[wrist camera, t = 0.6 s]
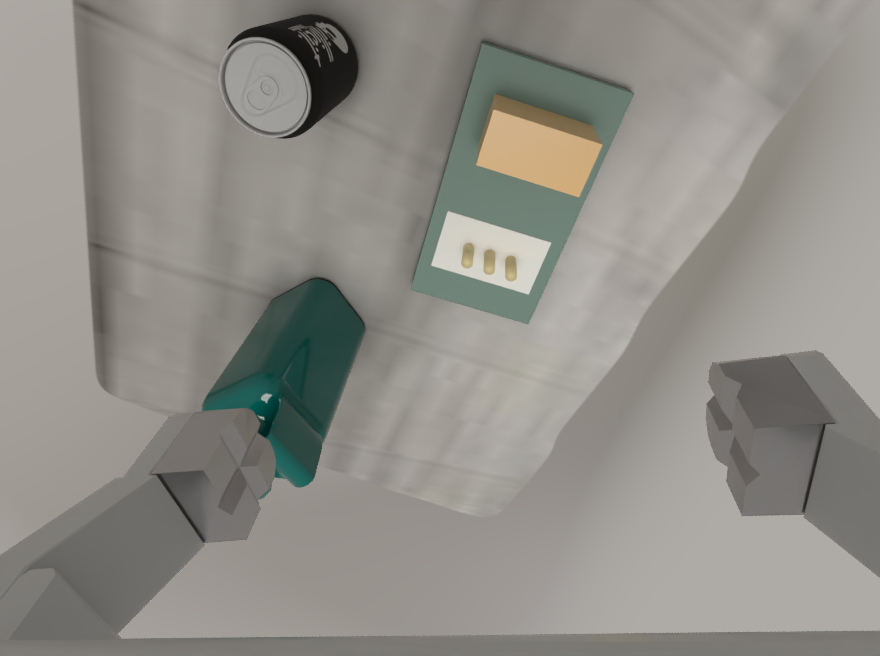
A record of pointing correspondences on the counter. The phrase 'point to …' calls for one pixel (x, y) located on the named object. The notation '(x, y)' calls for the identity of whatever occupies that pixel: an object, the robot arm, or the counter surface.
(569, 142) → the block
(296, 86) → the beverage can
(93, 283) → the counter surface
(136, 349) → the counter surface
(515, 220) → the board
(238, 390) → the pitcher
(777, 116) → the counter surface
